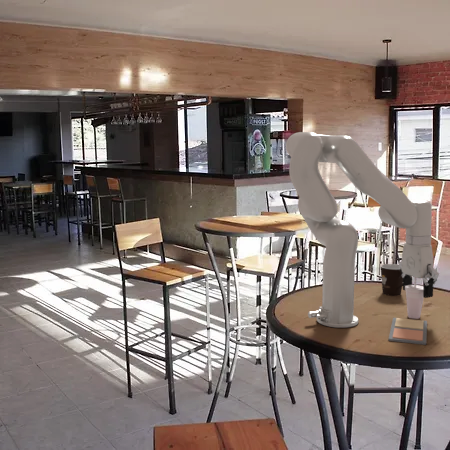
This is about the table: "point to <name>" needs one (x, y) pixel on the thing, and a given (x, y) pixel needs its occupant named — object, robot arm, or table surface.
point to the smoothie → (414, 300)
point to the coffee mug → (391, 279)
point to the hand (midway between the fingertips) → (417, 293)
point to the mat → (408, 331)
